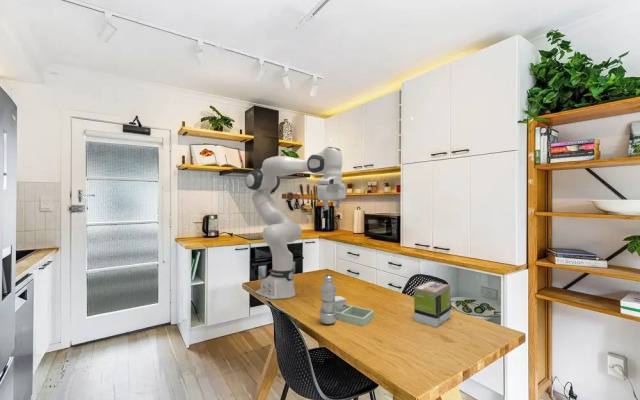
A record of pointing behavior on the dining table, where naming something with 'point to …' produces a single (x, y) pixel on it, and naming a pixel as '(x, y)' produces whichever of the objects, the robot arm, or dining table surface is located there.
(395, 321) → the dining table surface
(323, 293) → the plastic bottle
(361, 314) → the tray
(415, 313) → the tea box
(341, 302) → the skincare box
